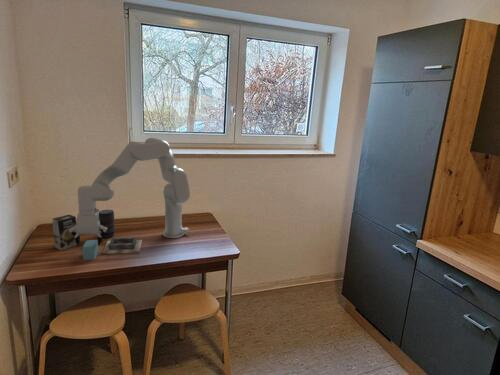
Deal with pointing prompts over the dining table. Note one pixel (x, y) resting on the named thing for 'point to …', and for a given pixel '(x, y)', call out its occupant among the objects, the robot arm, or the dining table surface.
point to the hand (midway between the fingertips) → (89, 244)
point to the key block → (90, 250)
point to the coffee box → (64, 231)
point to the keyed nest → (122, 246)
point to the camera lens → (107, 222)
